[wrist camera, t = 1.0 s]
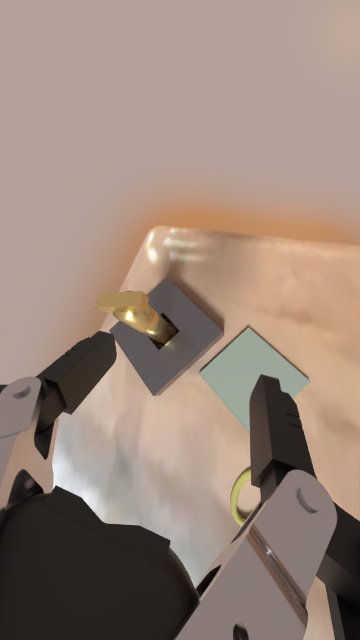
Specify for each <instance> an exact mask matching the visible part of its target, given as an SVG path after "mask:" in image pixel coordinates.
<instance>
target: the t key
mask: <svg viewBox="0 0 360 640" xmlns="http://www.w3.org/2000/svg"><path fill="white" fill-rule="evenodd" d="M148 300H149V298H148V297H147V296H146V295H145V294H144V293H143V292H142V291H137V292H133V291H126V292H119V293H103V294H98V297H97V301H96V305H95V308H97V309H99V310H101V311H103V312H105V313H107V312H113V315H114V316H115V317H116V318H117V319H118V320H120V321H122V322H124V323H126V324H127V325H129V326H131V327H133V328H135V329H136V330H138V331H140V332H142V333H144V334H145V335H147V336H149V337H151V338H152V339H154V340H156V341H158V342H160V343H161V344H166V343H167V342H168V341H169V340H171V339H172V338H173V337H174V336H175V335H176V332H175V329H174V328H173V327H172V326H171V325H170V324H169V323H168V322H167V321H166V320H165V319H163V318H162V317H161V316H160V315H159V314H158V313H157V312H156V311H155V310H154V309H153V308H152V307H151V306H150V305H148Z"/></svg>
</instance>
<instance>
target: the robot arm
mask: <svg viewBox="0 0 360 640" xmlns="http://www.w3.org/2000/svg"><path fill="white" fill-rule="evenodd" d="M116 356H117V353H116V346H115V339H114V335H113V334H110V333H107V332H103V331H98V332H97V333H95V334H94V335H93V336H92V337H91V338H89V337H88V338H86V339H84V340H82V341H80V342H78V343H77V344H76V345H75V346H73V347H72V348H71V350H69V351H67V352H66V353H65V355H62V356H61V357H60V358H59V359H57V360H56V361H55V362H54V363H52V364H51V365H50V366H49V367H47V368H46V369H45V370H44V371H42V373H40V374H39V375H38V376H36V377H25V378H21V379H19V380H16V381H14V382H12V383H11V384H9V385H0V640H303V638H304V635H305V631H306V627H307V621H308V612H307V609H306V599H307V595H308V593H309V590H310V588H311V585H312V583H313V580H314V578H315V576H317V577H318V578H319V579H320V580H321V581H322V582H323V583H324V584H325V586H326V591H327V597H328V603H329V608H330V614H331V620H332V625H333V631H334V636H335V640H360V521H358V520H357V519H355V518H354V517H353V516H351V515H350V514H348V513H347V512H346V511H344V510H343V509H342V508H340V507H339V506H338V505H337V504H336V503H335V502H333V500H332V499H331V497H330V495H329V493H328V492H327V490H326V489H325V488H324V487H323V485H322V484H321V483H320V482H319V481H318V480H317V477H316V475H315V472H314V469H313V465H312V461H311V458H310V454H309V450H308V446H307V442H306V439H305V435H304V431H303V429H302V424H301V420H300V419H299V417H300V416H299V412H298V409H297V405H296V403H295V402H294V400H293V399H292V397H291V396H290V394H289V393H286V392H282V391H281V386H280V381H279V379H278V378H274V377H270V376H267V375H263V374H261V375H260V376H259V378H258V380H257V382H256V385H255V387H254V389H253V391H252V393H251V397H250V402H249V415H250V454H251V485H253V486H256V487H258V488H260V493H261V500H260V501H259V503H258V504H257V506H256V507H255V508H254V510H253V511H252V512H251V514H250V515H249V516H248V518H247V519H246V521H245V522H244V523H243V525H242V526H241V527H240V529H239V530H238V532H237V533H236V534H235V536H234V537H233V538H232V540H231V541H230V542H229V544H228V545H227V546H226V547H225V549H224V550H223V551H222V552H221V553H220V555H219V556H218V557H217V558H216V560H215V561H214V562H213V564H212V565H211V566H210V568H209V569H208V571H207V572H206V573H205V575H204V576H203V577H202V579H201V580H200V581H199V583H198V584H197V586H196V587H195V588H194V585H193V583H192V581H191V579H190V576H189V574H188V572H187V570H186V569H185V567H184V565H183V563H182V562H181V560H180V559H179V558H178V556H177V555H176V554H175V553H174V552H173V551H172V549H171V548H170V547H169V546H170V540H168V539H166V538H164V537H162V536H160V535H158V534H156V533H154V532H152V531H150V530H147V529H145V528H143V527H141V526H138V525H121V524H106V523H104V522H102V521H101V520H100V519H99V517H98V516H97V515H96V514H95V513H94V512H93V510H92V509H91V508H90V507H89V506H88V505H87V504H86V502H85V501H84V500H83V499H82V498H81V497H79V496H77V495H75V494H73V493H71V492H69V491H67V490H65V489H62V488H60V487H58V486H55V488H54V489H53V469H52V458H53V452H54V446H55V440H56V434H57V428H58V422H59V418H58V416H59V415H60V414H61V413H62V412H65V413H68V414H72V413H73V412H74V411H75V410H76V408H77V407H78V406H79V405H80V404H81V402H82V401H83V400H84V399H85V398H86V396H87V395H88V394H89V393H90V392H91V390H92V389H93V388H94V387H95V386H96V384H97V383H98V382H99V381H100V380H101V378H102V377H103V376H104V375H105V374H106V372H107V371H108V370H109V369H110V368H111V366H112V365H113V364H114V362H115V360H116ZM52 489H53V490H52Z"/></svg>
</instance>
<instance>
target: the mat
mask: <svg viewBox="0 0 360 640" xmlns="http://www.w3.org/2000/svg"><path fill="white" fill-rule="evenodd" d="M199 374H200V375H201V377H202V378H203V379H204V380H205V381H206V383H207V384H208V385H209V386H210V387H211V388H212V390H213V391H214V392H215V393H216V394H217V396H218V397H219V398H220V399H221V400H222V401H223V403H224V404H225V405H226V406H227V407H228V408H229V410H230V411H231V412H232V413H233V414H234V416H235V417H236V418H237V419H238V420H239V421H240V423H241V424H242V425H243V426H244V427H245V429H246V430H247V431H248V432H249V433H250V415H249V402H250V397H251V393H252V391H253V389H254V387H255V385H256V382H257V380H258V378H259V376H260V375H261V374H263V375H267V376H270V377H274V378H278V379H279V381H280V386H281V391H282V392H286V393H289V394H290V396H291V397H292V399H293V398H294V397H295V396H296V395H297V394H298V393H299V392H300V391H301V390H302V389H303V388H304V387H305V386H306V385H308V384H309V383H310V381H309V380H308V379H307V378H306V377H305V376H304V375H302V374H301V373H300V372H299V371H298V370H297V369H296V368H294V367H293V366H292V365H291V364H290V363H289V362H288V361H286V360H285V359H284V358H283V357H282V356H281V355H280V354H278V353H277V352H276V351H275V350H274V349H273V348H272V347H271V346H269V345H268V344H267V343H266V342H265V341H264V340H263V339H261V338H260V337H259V336H258V335H257V334H256V333H255V332H253V331H252V330H251V329H250V328H249V327H248V328H247V329H246V330H245V331H244V332H243V333H242V334H241V335H240V336H239V337H238V338H236V339H235V340H234V341H233V342H232V343H231V344H230V345H229V346H228V347H227V348H226V349H225V350H224V351H223V352H221V353H220V354H219V355H218V356H217V357H216V358H215V359H214V360H213V361H212V362H211V363H210V364H209V365H207V366H206V367H205V368H204V369H203V370H202V371H201V372H200V373H199Z"/></svg>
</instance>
